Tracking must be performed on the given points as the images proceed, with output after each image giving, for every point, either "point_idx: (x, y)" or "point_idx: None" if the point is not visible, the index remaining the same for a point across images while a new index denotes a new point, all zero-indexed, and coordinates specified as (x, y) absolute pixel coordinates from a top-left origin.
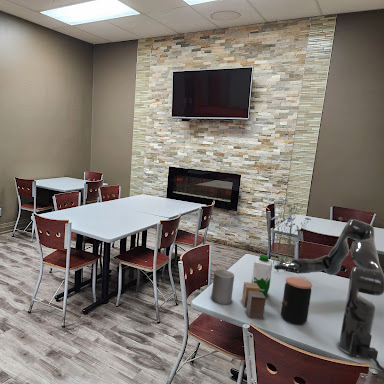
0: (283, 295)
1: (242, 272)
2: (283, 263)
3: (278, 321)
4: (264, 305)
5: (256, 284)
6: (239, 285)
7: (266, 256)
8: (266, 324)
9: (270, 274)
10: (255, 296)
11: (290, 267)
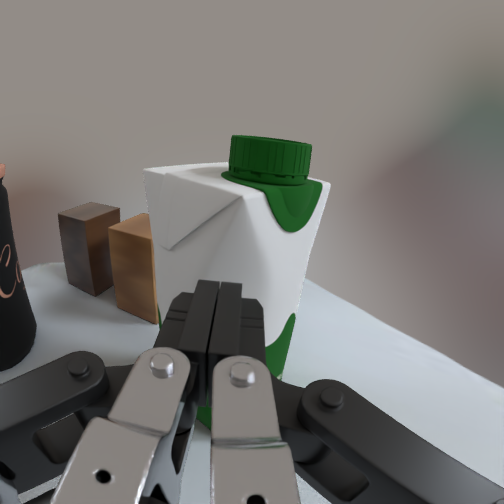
0: (14, 242)
1: (498, 425)
2: (279, 436)
3: (32, 302)
4: (61, 239)
5: (140, 234)
6: (334, 361)
7: (276, 142)
8: (51, 275)
9: (155, 269)
10: (84, 205)
11: (19, 380)
